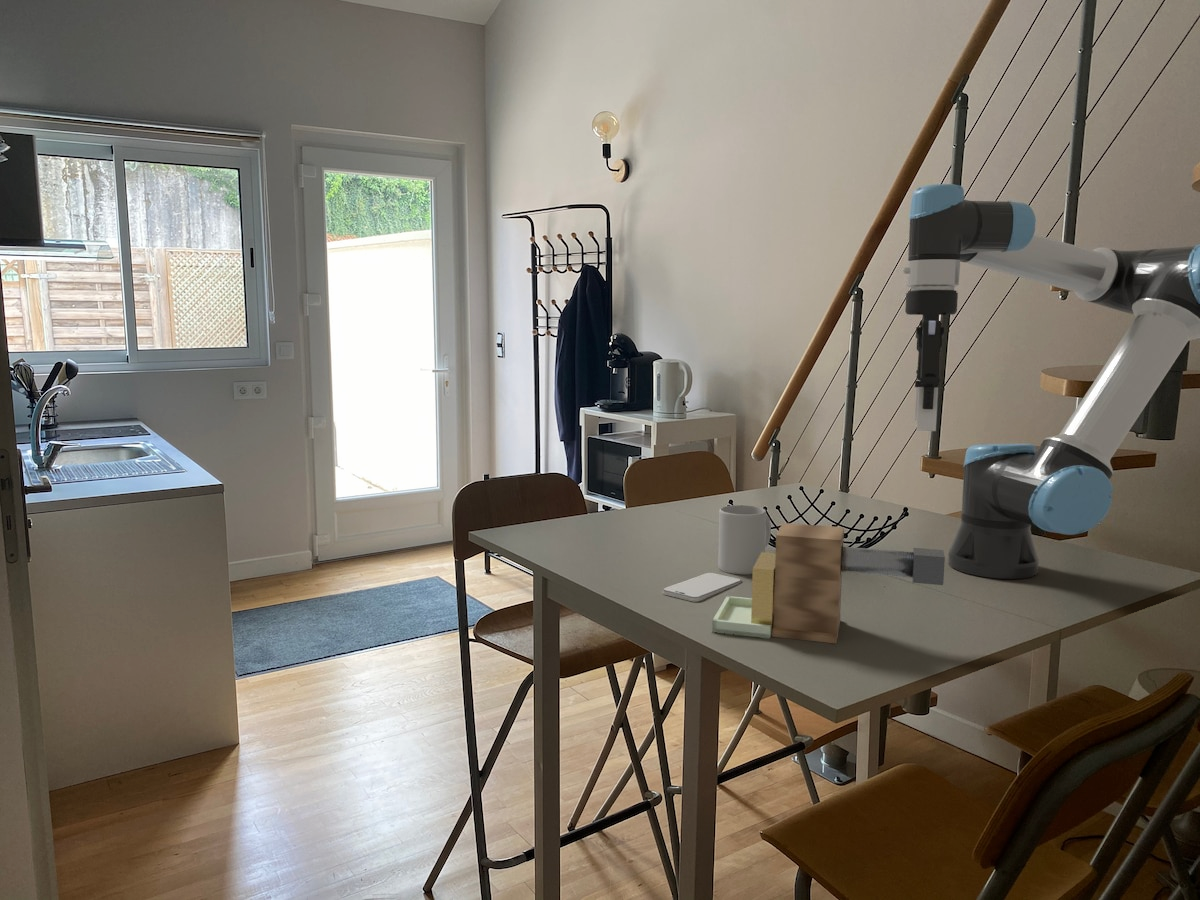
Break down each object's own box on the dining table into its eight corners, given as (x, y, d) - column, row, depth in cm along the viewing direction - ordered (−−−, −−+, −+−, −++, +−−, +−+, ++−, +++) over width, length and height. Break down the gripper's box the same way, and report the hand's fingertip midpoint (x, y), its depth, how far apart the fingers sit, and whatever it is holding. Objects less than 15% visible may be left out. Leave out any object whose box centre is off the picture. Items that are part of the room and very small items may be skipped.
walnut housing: (840, 620, 134) (844, 525, 132) (836, 643, 125) (840, 541, 123) (780, 614, 137) (783, 521, 135) (772, 636, 128) (775, 536, 125)
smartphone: (743, 579, 154) (696, 598, 143) (743, 585, 154) (696, 604, 143) (708, 571, 159) (659, 589, 147) (708, 578, 159) (659, 595, 147)
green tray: (779, 612, 138) (780, 601, 138) (769, 638, 127) (770, 626, 127) (726, 606, 141) (726, 595, 140) (712, 632, 129) (712, 620, 129)
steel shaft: (941, 577, 126) (943, 549, 125) (943, 585, 122) (944, 557, 121) (798, 565, 132) (799, 539, 131) (796, 572, 128) (796, 545, 128)
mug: (744, 577, 156) (745, 517, 155) (708, 567, 163) (709, 509, 161) (786, 565, 164) (787, 507, 162) (750, 555, 170) (751, 500, 169)
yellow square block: (779, 611, 137) (781, 553, 135) (771, 631, 128) (773, 570, 127) (759, 609, 138) (761, 552, 136) (751, 629, 129) (752, 568, 128)
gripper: (905, 291, 149) (898, 415, 153) (907, 287, 126) (900, 434, 129) (952, 290, 147) (945, 417, 150) (964, 286, 124) (955, 436, 127)
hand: (924, 425), depth 140 cm, fingers open, 13 cm apart
